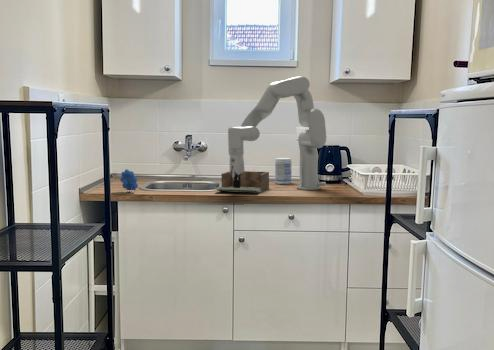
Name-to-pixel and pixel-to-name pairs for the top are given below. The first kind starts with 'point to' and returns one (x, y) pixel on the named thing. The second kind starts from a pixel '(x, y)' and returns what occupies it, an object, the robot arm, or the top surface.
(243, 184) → the crate
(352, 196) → the top surface
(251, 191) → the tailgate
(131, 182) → the grapes
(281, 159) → the supplement tub
